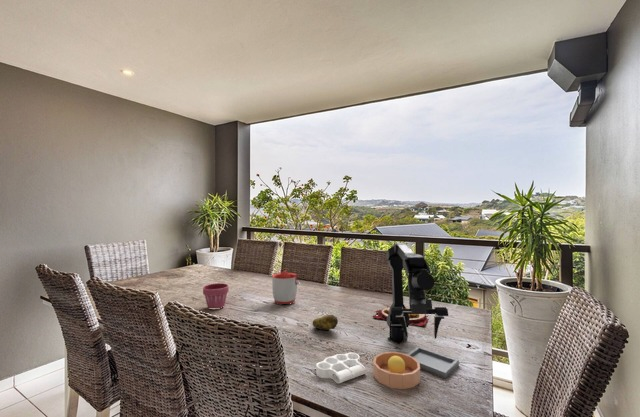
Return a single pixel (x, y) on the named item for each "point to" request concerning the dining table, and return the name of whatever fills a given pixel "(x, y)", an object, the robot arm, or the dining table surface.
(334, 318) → the potato
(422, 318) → the plate with food
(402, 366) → the ball
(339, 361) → the white brass knuckles
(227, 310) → the dining table surface
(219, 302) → the plant pot
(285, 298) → the citrus juicer
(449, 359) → the tray
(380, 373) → the bowl
